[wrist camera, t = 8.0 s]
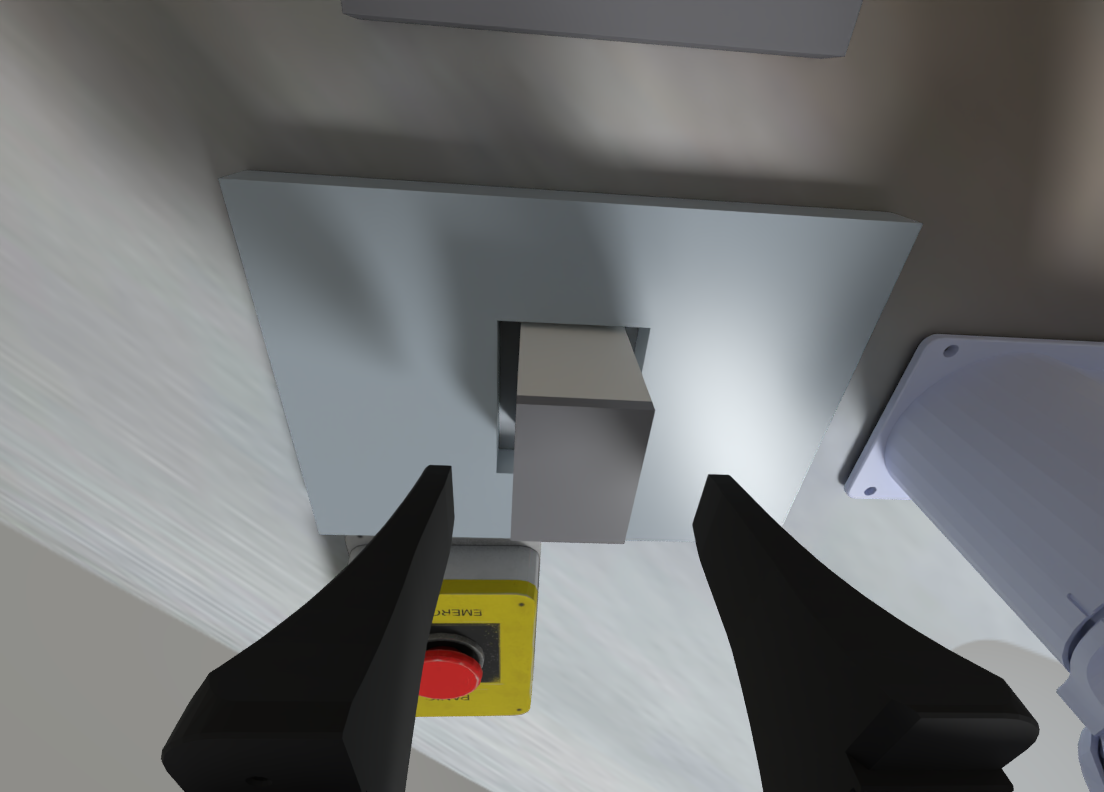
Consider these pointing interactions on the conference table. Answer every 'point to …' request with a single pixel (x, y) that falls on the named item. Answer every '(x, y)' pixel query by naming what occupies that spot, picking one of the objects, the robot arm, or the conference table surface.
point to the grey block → (577, 434)
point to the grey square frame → (644, 21)
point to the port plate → (551, 297)
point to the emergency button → (480, 629)
